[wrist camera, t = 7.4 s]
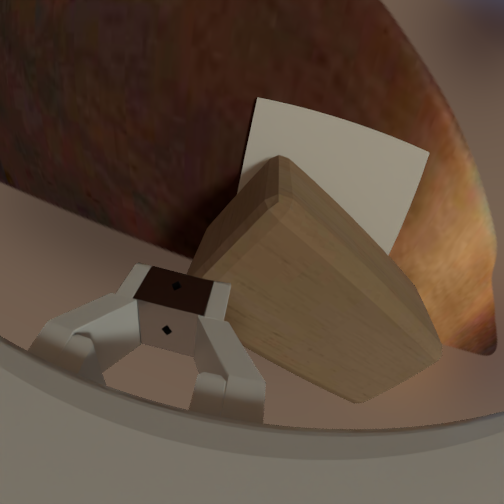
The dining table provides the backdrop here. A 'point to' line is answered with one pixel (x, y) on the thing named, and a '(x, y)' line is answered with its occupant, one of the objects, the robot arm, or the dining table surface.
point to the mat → (340, 163)
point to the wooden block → (315, 287)
